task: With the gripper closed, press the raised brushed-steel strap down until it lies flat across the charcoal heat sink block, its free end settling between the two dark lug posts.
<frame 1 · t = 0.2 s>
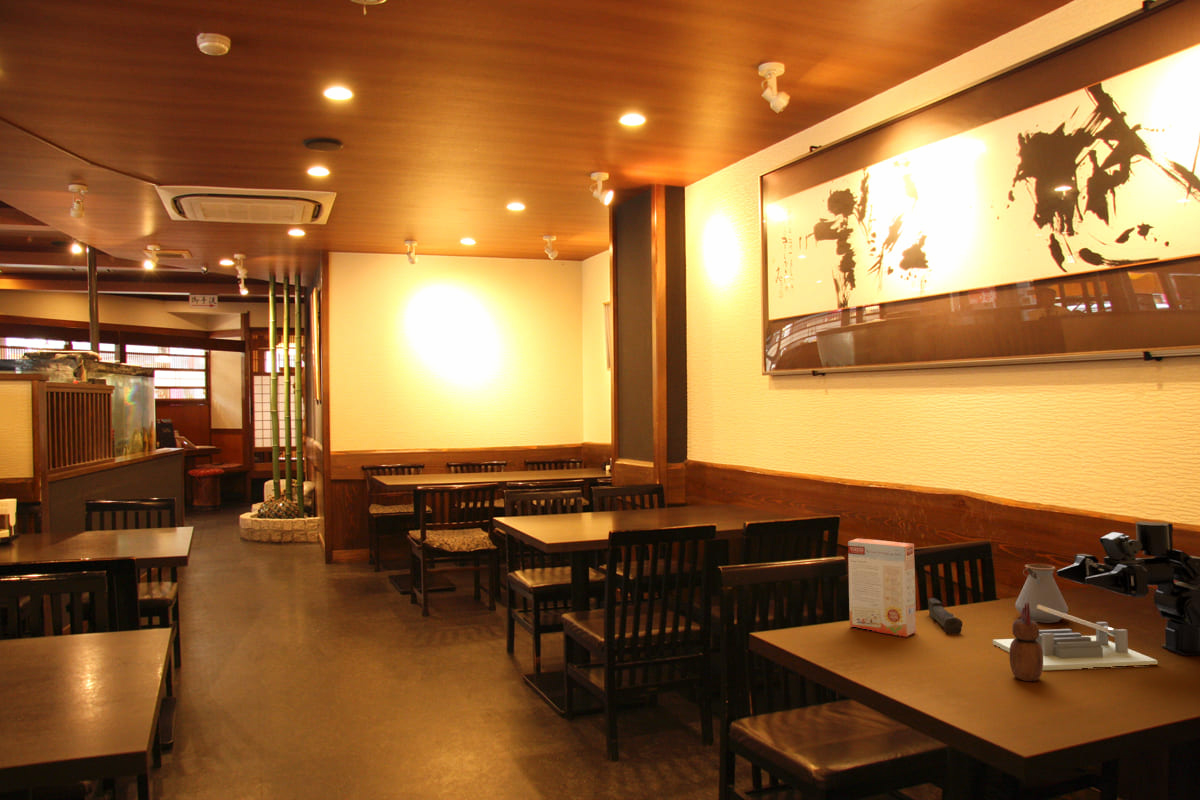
hand: (1071, 577, 171), 16 cm above the table, tool horizontal, fingers open, 9 cm apart
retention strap: (1079, 620, 172), point 7 cm above the table, hinge at 20.0°
wooden figurine: (1026, 679, 158), on the table
cracker box: (882, 631, 192), on the table
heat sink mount: (1071, 654, 172), on the table
hand tool: (939, 625, 198), on the table
coffee pot: (1037, 624, 196), on the table
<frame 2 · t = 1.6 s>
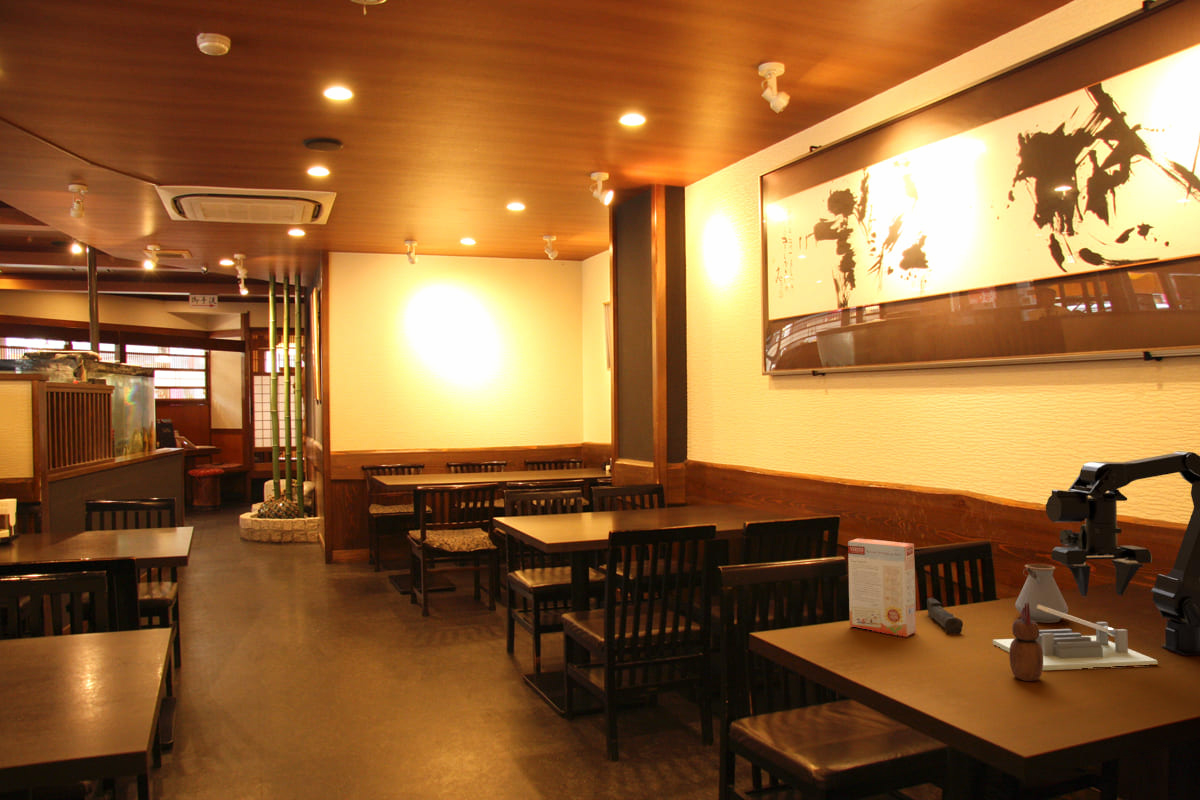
hand: (1101, 595, 173), 12 cm above the table, tool pointing down, fingers open, 8 cm apart
nothing on the table moved.
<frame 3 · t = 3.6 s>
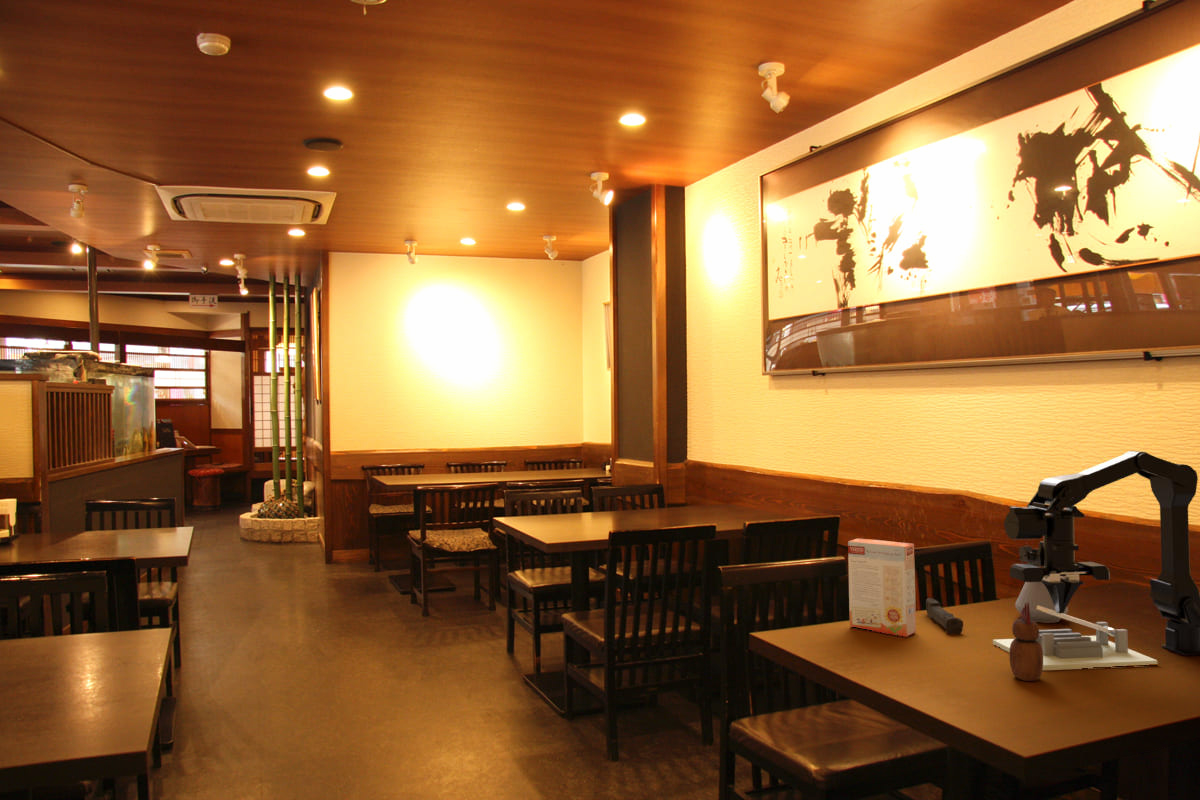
hand: (1059, 612, 172), 9 cm above the table, tool pointing down, fingers closed
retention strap: (1078, 621, 172), point 7 cm above the table, hinge at 19.2°, touching gripper
everything else where it was.
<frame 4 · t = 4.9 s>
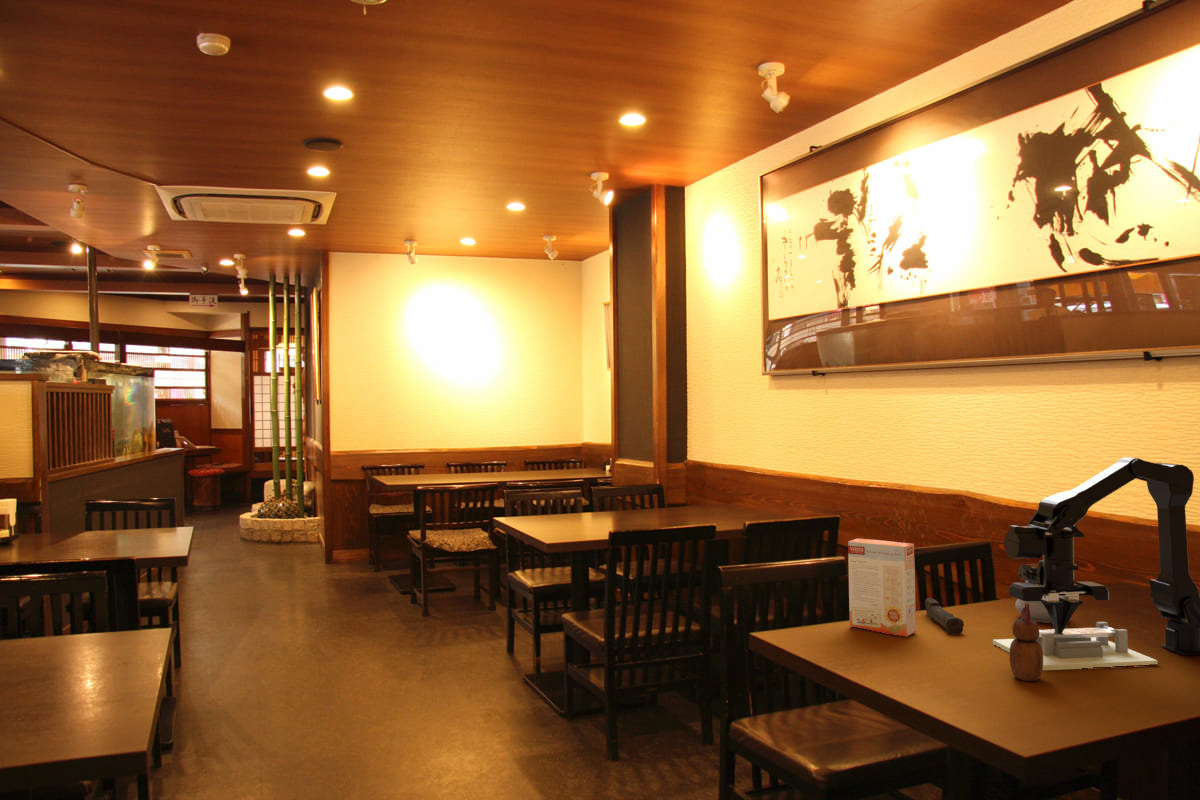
hand: (1058, 632, 172), 5 cm above the table, tool pointing down, fingers closed, pressing on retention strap
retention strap: (1077, 633, 172), point 4 cm above the table, hinge at 0.1°, touching gripper
everything else where it was.
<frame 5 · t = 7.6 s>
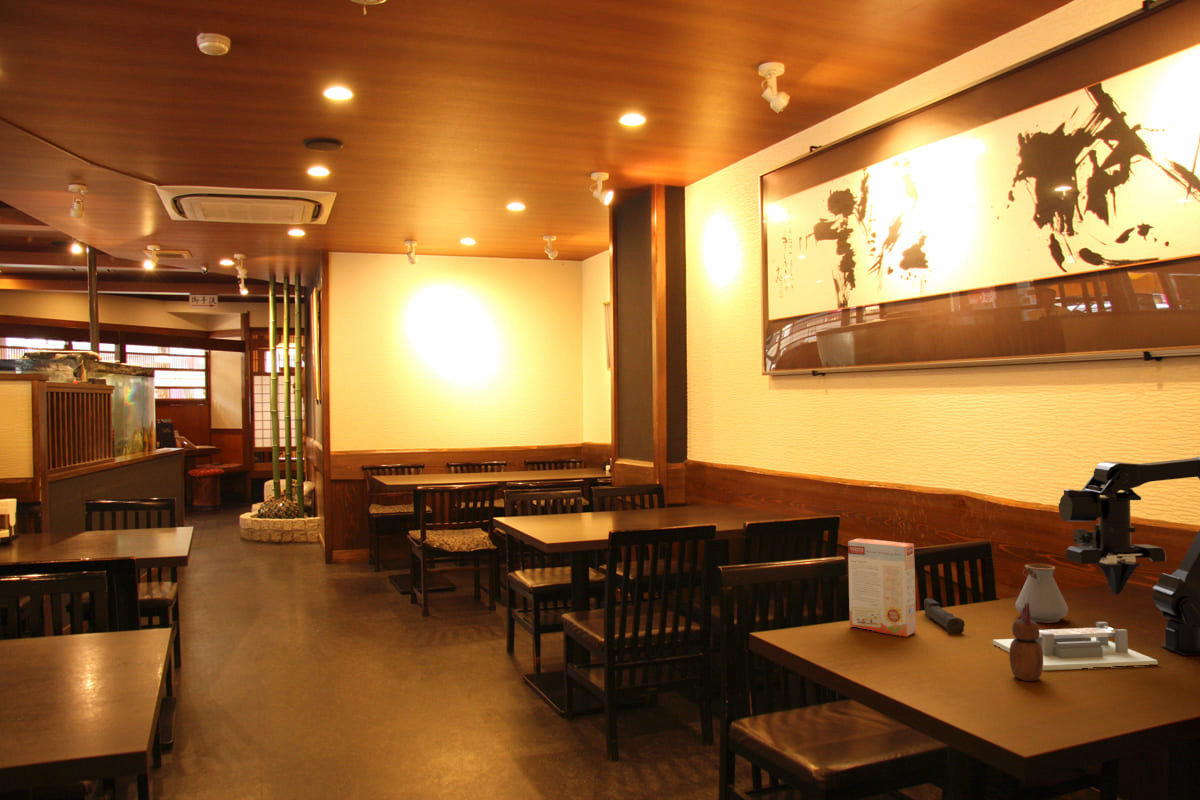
hand: (1116, 594, 174), 12 cm above the table, tool pointing down, fingers closed
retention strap: (1077, 633, 172), point 4 cm above the table, hinge at 0.0°
everything else where it was.
at the end: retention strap at +0° (first picture: +20°) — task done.
